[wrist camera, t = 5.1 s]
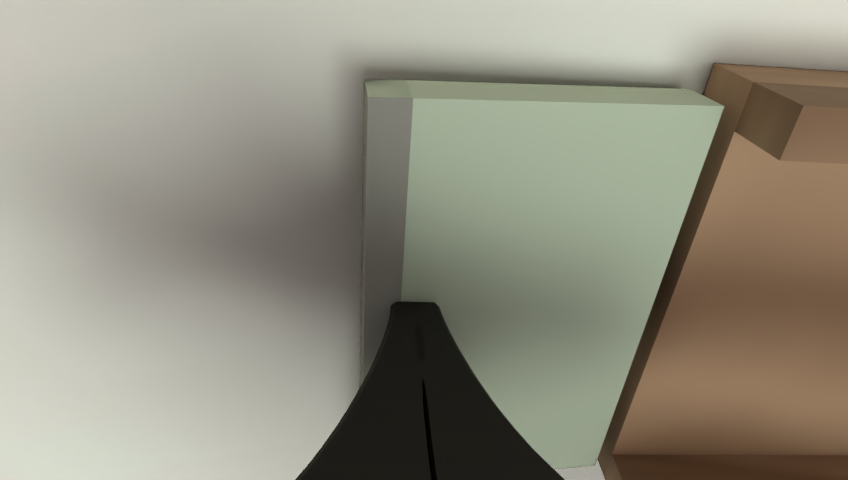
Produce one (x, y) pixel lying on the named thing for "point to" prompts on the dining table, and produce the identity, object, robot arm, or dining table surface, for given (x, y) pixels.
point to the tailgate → (529, 234)
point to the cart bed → (750, 298)
